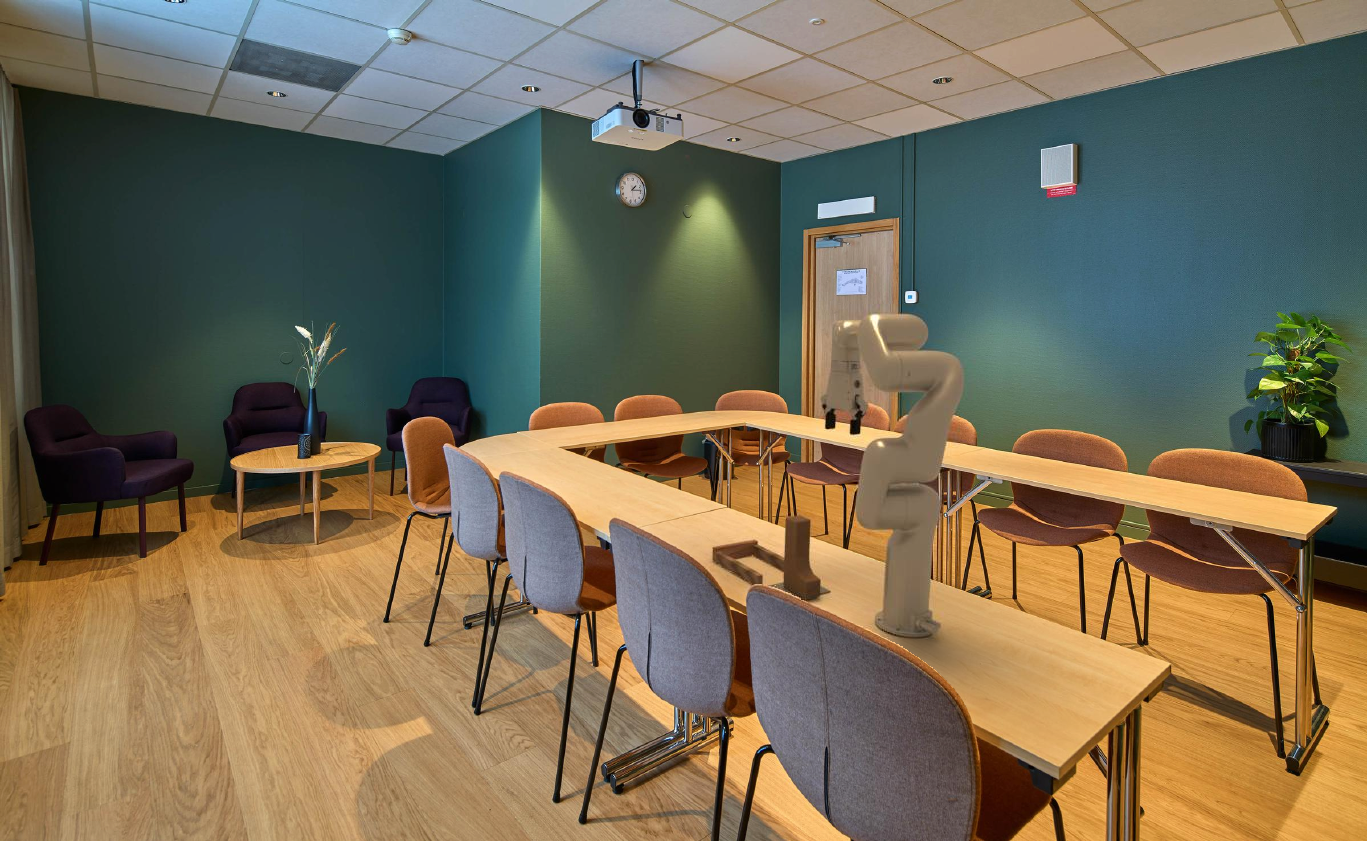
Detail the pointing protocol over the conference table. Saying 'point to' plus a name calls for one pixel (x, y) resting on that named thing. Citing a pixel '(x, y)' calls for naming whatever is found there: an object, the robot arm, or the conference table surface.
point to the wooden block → (799, 559)
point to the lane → (730, 552)
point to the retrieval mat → (780, 586)
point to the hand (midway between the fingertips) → (842, 431)
